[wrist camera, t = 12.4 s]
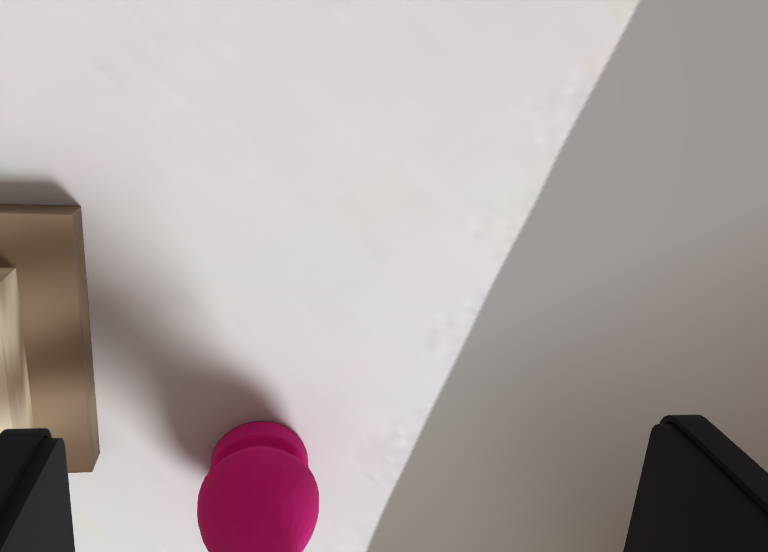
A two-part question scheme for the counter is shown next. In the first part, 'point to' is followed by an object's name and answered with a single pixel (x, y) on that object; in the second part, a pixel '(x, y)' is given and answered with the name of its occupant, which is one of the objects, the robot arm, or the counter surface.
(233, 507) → the pepper mill
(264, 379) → the counter surface
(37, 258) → the plinth
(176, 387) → the counter surface
